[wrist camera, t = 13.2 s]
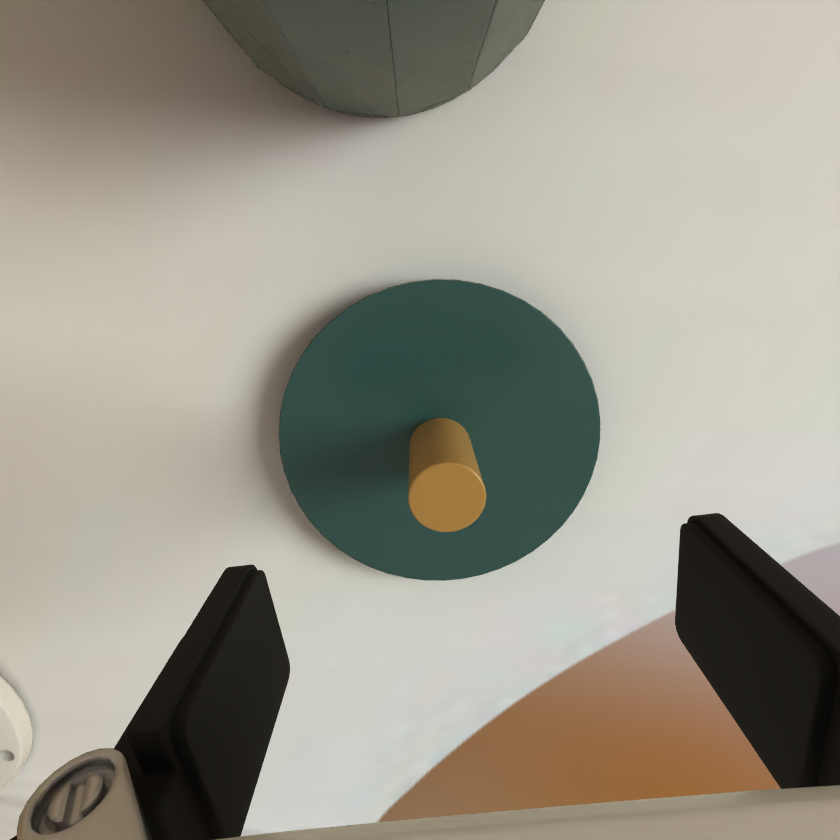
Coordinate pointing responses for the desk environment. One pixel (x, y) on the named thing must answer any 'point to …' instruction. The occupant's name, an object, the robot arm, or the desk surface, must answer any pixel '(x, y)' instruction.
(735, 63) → the desk surface
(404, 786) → the desk surface
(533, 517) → the lid
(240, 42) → the tin
